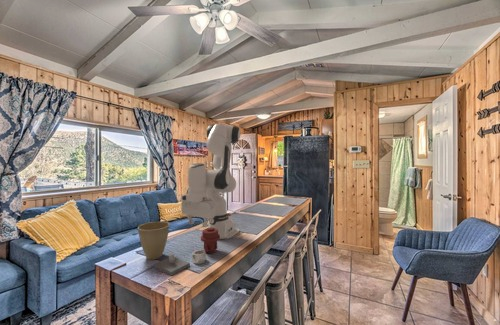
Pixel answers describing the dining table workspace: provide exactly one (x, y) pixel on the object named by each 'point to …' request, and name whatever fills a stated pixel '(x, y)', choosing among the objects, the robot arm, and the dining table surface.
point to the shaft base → (171, 265)
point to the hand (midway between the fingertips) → (197, 225)
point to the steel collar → (198, 256)
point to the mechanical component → (210, 239)
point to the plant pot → (153, 238)
